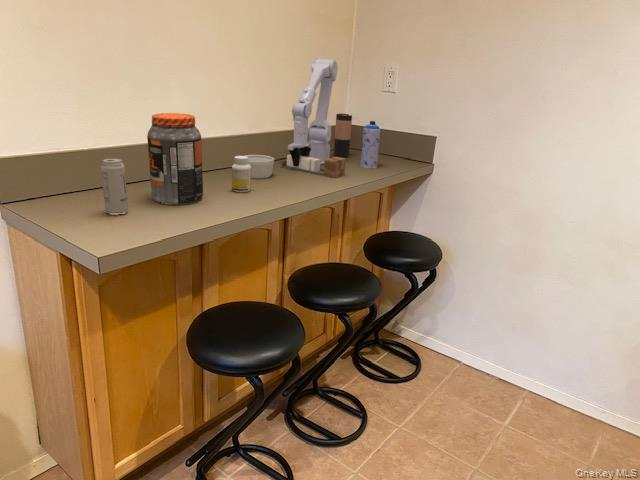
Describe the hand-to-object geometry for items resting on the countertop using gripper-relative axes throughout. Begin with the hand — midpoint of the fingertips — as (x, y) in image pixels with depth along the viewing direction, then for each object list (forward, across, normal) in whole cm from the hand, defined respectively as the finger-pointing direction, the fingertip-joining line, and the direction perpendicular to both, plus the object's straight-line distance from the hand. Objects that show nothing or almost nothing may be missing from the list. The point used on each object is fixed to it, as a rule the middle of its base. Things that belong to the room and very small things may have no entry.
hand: (299, 165), depth 205 cm
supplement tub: (+2, -66, 0) cm, 66 cm away
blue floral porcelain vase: (+2, +27, -19) cm, 33 cm away
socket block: (+1, 0, -18) cm, 18 cm away
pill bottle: (+2, -44, -7) cm, 45 cm away
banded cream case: (+1, 0, -2) cm, 2 cm away
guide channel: (+1, 0, -4) cm, 4 cm away
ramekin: (+2, -23, +4) cm, 23 cm away
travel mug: (+2, +38, +2) cm, 38 cm away
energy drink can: (+2, -87, +1) cm, 87 cm away
